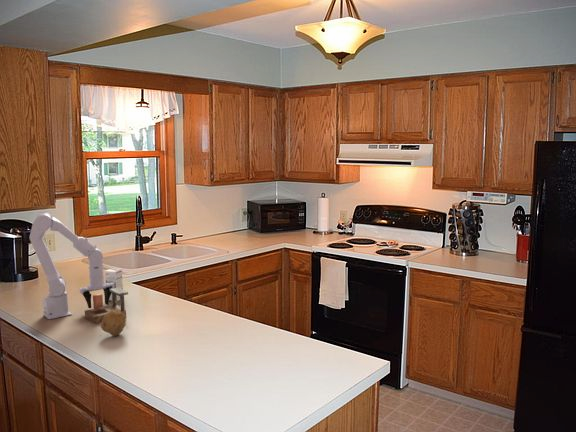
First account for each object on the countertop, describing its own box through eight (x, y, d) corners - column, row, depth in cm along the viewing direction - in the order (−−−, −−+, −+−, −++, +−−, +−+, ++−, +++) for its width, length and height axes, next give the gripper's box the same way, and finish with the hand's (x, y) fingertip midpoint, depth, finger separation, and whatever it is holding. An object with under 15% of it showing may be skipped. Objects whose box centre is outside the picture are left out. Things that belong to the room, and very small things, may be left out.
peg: (95, 312, 227) (94, 296, 226) (92, 310, 230) (91, 294, 229) (104, 310, 229) (103, 295, 228) (101, 308, 232) (100, 293, 231)
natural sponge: (100, 341, 193) (99, 315, 192) (102, 332, 202) (101, 308, 200) (126, 338, 196) (125, 312, 194) (127, 330, 204) (125, 305, 203)
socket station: (94, 324, 212) (92, 299, 210) (84, 317, 220) (83, 293, 218) (129, 316, 221) (128, 292, 220) (119, 310, 229) (118, 287, 228)
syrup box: (124, 298, 248) (122, 268, 246) (116, 301, 242) (115, 271, 240) (113, 297, 249) (111, 267, 247) (106, 300, 243) (104, 270, 242)
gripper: (82, 280, 220) (84, 311, 222) (116, 274, 229) (117, 304, 231) (77, 277, 225) (79, 307, 227) (110, 272, 234) (111, 301, 236)
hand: (98, 306), depth 229 cm, fingers open, 7 cm apart
